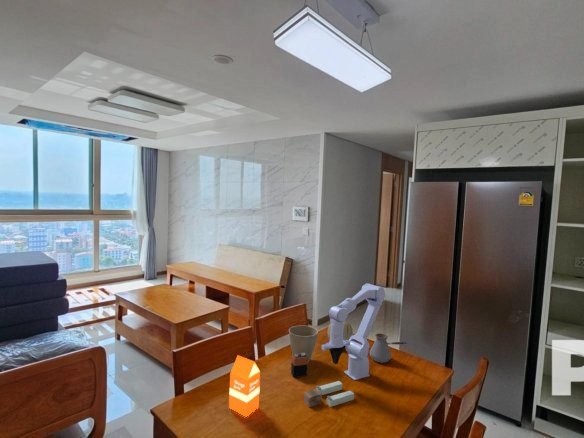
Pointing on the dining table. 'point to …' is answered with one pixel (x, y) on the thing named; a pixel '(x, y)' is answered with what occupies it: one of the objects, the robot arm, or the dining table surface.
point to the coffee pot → (382, 348)
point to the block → (312, 397)
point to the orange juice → (244, 386)
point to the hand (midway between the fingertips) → (335, 363)
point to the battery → (299, 365)
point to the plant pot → (303, 340)
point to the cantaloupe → (346, 331)
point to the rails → (335, 398)
